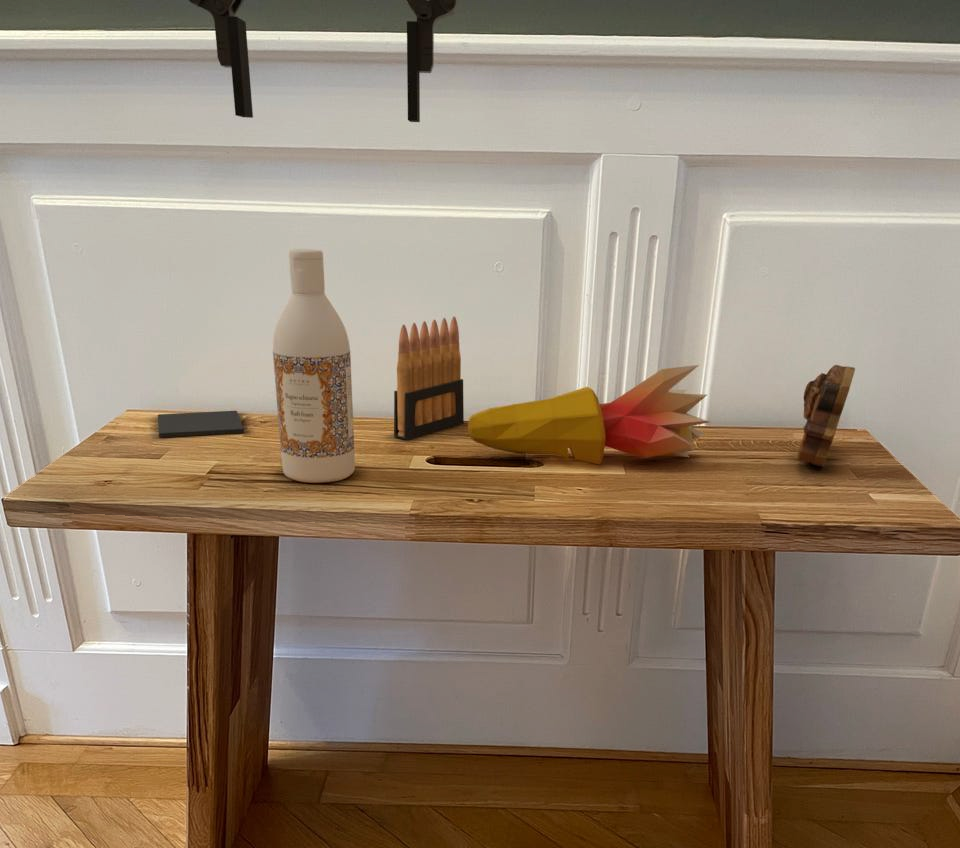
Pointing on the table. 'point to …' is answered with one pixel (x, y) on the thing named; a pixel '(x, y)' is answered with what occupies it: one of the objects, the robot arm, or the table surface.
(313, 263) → the bath foam
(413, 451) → the table surface
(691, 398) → the torch
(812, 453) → the wooden carving
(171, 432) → the mat
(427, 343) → the ammunition clip
